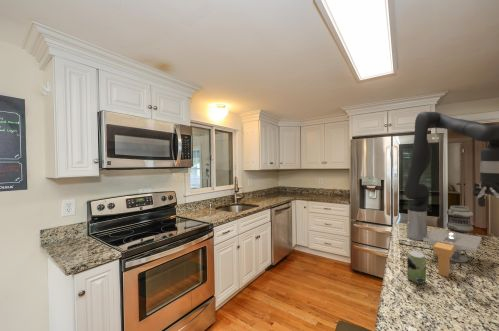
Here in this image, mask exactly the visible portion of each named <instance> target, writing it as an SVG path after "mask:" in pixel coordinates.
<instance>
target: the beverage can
mask: <svg viewBox="0 0 499 331" xmlns="http://www.w3.org/2000/svg"><path fill="white" fill-rule="evenodd" d="M406 256H407V258H406V261H407V262H406V263H407V267H406V268H407V270H406V275H407V279H409V280H410V281H411V280H412V281H411V282H413V281H414V282H413V283H415V282H417V283H416V284H423V283H425V282H426V281H427V280H426V279H427V257H426V256H425V254H424V253H423V252H421V251H419V250H410V251H409V252H408V254H407V255H406Z"/></svg>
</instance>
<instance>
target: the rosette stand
mask: <svg viewBox="0 0 499 331" xmlns="http://www.w3.org/2000/svg"><path fill="white" fill-rule="evenodd" d="M481 241H482V236H478V235H473V234H467V233H465V234H462V233H458V232H455V231H453V230H444V229H437V228H432V229H431V230H430V231H429V232H427V235H426V236H425V237H424V238H423V241H422V242H427V243H433V244H436V243H437V242H439V243H444V244H449V245H454V254H453V255H452V257H450V262H451V263H458V264H466V263H468V261H469V259H468V257H466V256H465V255H462V254H461V250H465V251H470V252H475V253H476V252H477V251H478V248H479V246H480V244H481Z"/></svg>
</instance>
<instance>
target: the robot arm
mask: <svg viewBox="0 0 499 331" xmlns="http://www.w3.org/2000/svg"><path fill="white" fill-rule="evenodd" d="M429 129H445V130H448V131H450V132H452V133H454V134H458V135H460V136H465V137H468V138H469V137H470V138H471V139H474V140H476V141H479V142H486V143H488V145H487V147H483V148H482V149H481V151H480V164H479V165H480V166H479V182H480V183H479V182H476V183H475V182H473V192H472V195H473V197H477V201H478V202H477V203H478V207H486V197H487V196H488V195H491V196H495V197H496V198H498V199H499V124H497V125H496V124H492V125H489V124H488V125H487V124H482V123H481V122H478V121H475V120H469V119H462V118H455V117H452V116H448V115H446V114H443V113H441V112H437V111H421V112H420V113H418V114H417V116H416V118H415V120H414V139H413V145H412V146H413V147H412V151H411V157H410V163H409V169H408V173H407V174H408V175H407V179H406V182H405V185H404V191H403V192H404V196H405V197H406V198H407V199H408V200H413V201H411V203H409V204H407V222H406V238H407V237H408V239H410V238H411V239H410V240H413V239H415V240H414V241H417V240H423V238H424V237H425V236H426V235H427V234H428V211H427V210H428V208H429V201H430V191H429V188H428V186H427V185H426V184H424V183H420V181H421V177H423V174H424V173H425V172H426V171H427V169H428V167H429V166H430V165H431V161H432V156H433V150H432V147H431V145H430V142H429V140H428V130H429Z"/></svg>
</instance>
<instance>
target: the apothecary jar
mask: <svg viewBox="0 0 499 331" xmlns="http://www.w3.org/2000/svg"><path fill="white" fill-rule="evenodd" d="M446 214H447V215H448V217H449V219H448V222H447V223H446V228H448V229H449V231H454V232H458V233H462V234H467V233H471V232H473V231H474V227H473V225H472V224H471V218H472V217H473V216H474V213H473V212H472V211H471V209H470V207H468V206H465V205H450V207H449V209H447V210H446Z"/></svg>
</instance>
